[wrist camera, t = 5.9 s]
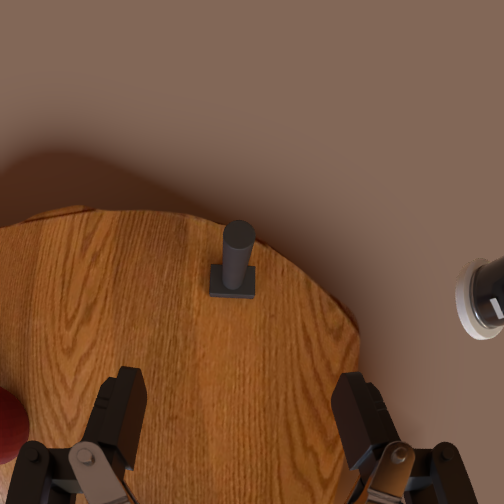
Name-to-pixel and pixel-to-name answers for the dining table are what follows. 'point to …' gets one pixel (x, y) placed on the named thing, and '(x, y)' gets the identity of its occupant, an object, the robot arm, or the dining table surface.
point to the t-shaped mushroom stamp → (235, 263)
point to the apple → (12, 426)
